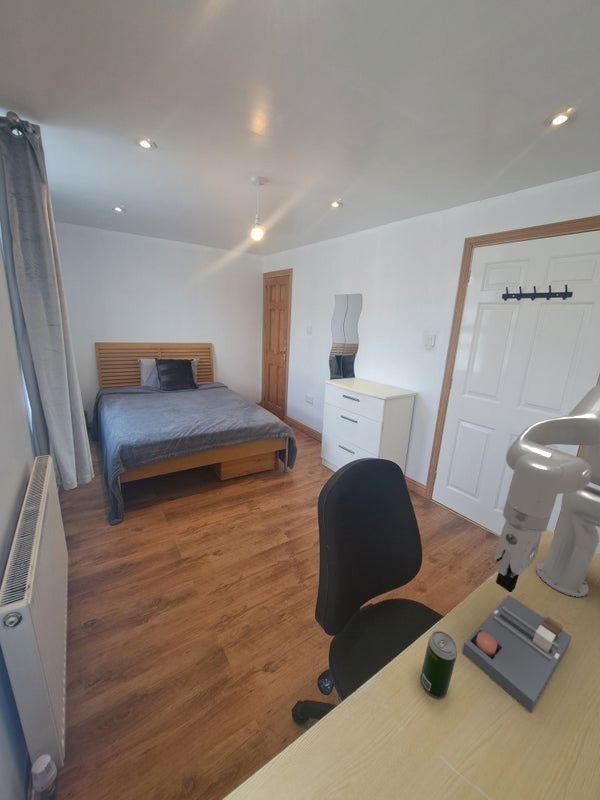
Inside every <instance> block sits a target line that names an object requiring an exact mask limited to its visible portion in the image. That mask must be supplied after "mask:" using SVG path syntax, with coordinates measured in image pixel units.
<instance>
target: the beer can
mask: <svg viewBox="0 0 600 800" xmlns="http://www.w3.org/2000/svg"><path fill="white" fill-rule="evenodd" d="M457 657H458V645H457V642H456V641H455V639H454V638H453V636H451V635H450V634H449V633H447V632H446V631H443V630H435V631H433V632H432V633H431V634H430V635H429V636H428V642H427V645H426V651H425V655H424V658H423V659H424V660H423V664H422V668H421V672H420V682H421V684H422V687H423V689H424V690H425V691H426V693H427V694H428V695H430V696H432V697H433V698H437V699H439V698H443V697H445V696H446V695H447V693H448V690H449V688H450V682H451V680H452V674H453V673H454V671H453V670H454V667H455V663H456V660H457Z"/></svg>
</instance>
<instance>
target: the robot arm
mask: <svg viewBox="0 0 600 800" xmlns="http://www.w3.org/2000/svg"><path fill="white" fill-rule="evenodd" d="M549 445H562V446H563V445H566V446H567V445H568V446H587V448H586V450H585V453H584V456H583V458H581V457H578V456H576V455H574V454H570V453H567V452H564V451H561V450H559V449H556V448H553V447H550V446H549ZM505 460H506V464H507V465H508V467H509V468H510V469H511V470H512V471H513V474H512V477H511V482H510V485H509V488H508V493H507V497H506V500H505V504H504V507H503V511H502V516H503V518H504V519H505V522H504V525H503V527H502V531H501V533H500V537H499V539H498V542H497V546H496V549H495V552H494V557H493V558H494V562H495V563H496V564H497V563H499V562H500V564H499V567H498V570H497V575H496V576H497V577H496V580H495V583H496V584H497V585H498V586H500V587H501V588H503V589H504V590H506V591H507V592H509V593H512V592H513V591H514V590H515V589H516V586H517V583H518V580H519V576H520V575H521V574H523V573H524V572H525V571H526V570H527V569H528V567H530V565H532V563H533V562H534V561H535V559H536V557H537V555H538V550H539V545H540V543H541V538H542V533H545V532H546V531H547V529H548V526H549V522H550V519H551V516H552V513H553V511H554V507H555V504H556V500H557V496H558V495H559V494H562V497H561V505H560V512H559V513H560V514H559V517H558V521H557V524H556V528H555V531H554V534H553V536H552V539H551V543H550V546H549V549H548V552H547V554H546V559H545V561H540V562H538V563H537V564H536V568H535V569H536V570H537V571H536V570H535V571H536V573H537V575H538V576H539V578H540V577H541V578H540V579H541V580H542V582H544V583H545V582H546V583H545V584H546V585H548V586H549V587H551V588H553V590H556V591H558V592H560V593H562V594H565V595H567V596H570V595H571V597H574V596H576V597H577V598H582V597H581V596H583V597H586V596H587V595H588V593H589V589H590V588H589V585H588V583H587V582H586V581H585V580H586V577H587V574H588V571H589V570H590V566H591V563H592V561H593V559H594V555H595V553H596V551H597V548H598V546H599V542H600V535H599V532H598V529H597V527H598V528H600V489H598V488H594V487H593V486H592V487H591V486H589V484H590V483H591V484H593V485H595V486H598V487H600V384H598V385H595V386H594V387H592V388H591V389H590V390H589V391H587V393H585V395H584V396H583V398H582V399H580V401H579V402H578V403H577V404H576V406H574V408H573V409H572V410H571V411H570V412H569V413H568V415H563V416H558V417H552V418H548V419H545V420H541V421H537V422H536V423H533V424H531V425H529V426H528V427H527V428H525V429H524V430H523V431H522V432H521V433H520V434H519V436H518V437H517V438H516V439H515V440H514V441H513V442H512V443H511V445H510V446H509V448H508V450H507V452H506V457H505ZM586 594H587V595H586ZM585 595H586V596H585ZM576 597H575V598H576Z"/></svg>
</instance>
